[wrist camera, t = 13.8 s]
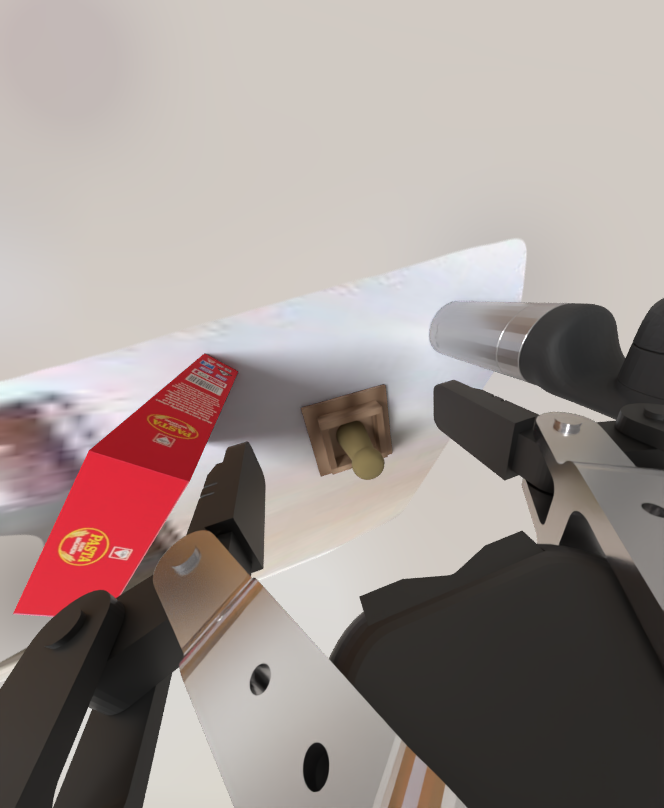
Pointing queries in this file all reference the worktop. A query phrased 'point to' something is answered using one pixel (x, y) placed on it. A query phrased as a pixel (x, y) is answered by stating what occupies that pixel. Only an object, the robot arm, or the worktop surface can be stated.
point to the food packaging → (127, 491)
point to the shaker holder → (340, 411)
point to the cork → (360, 450)
